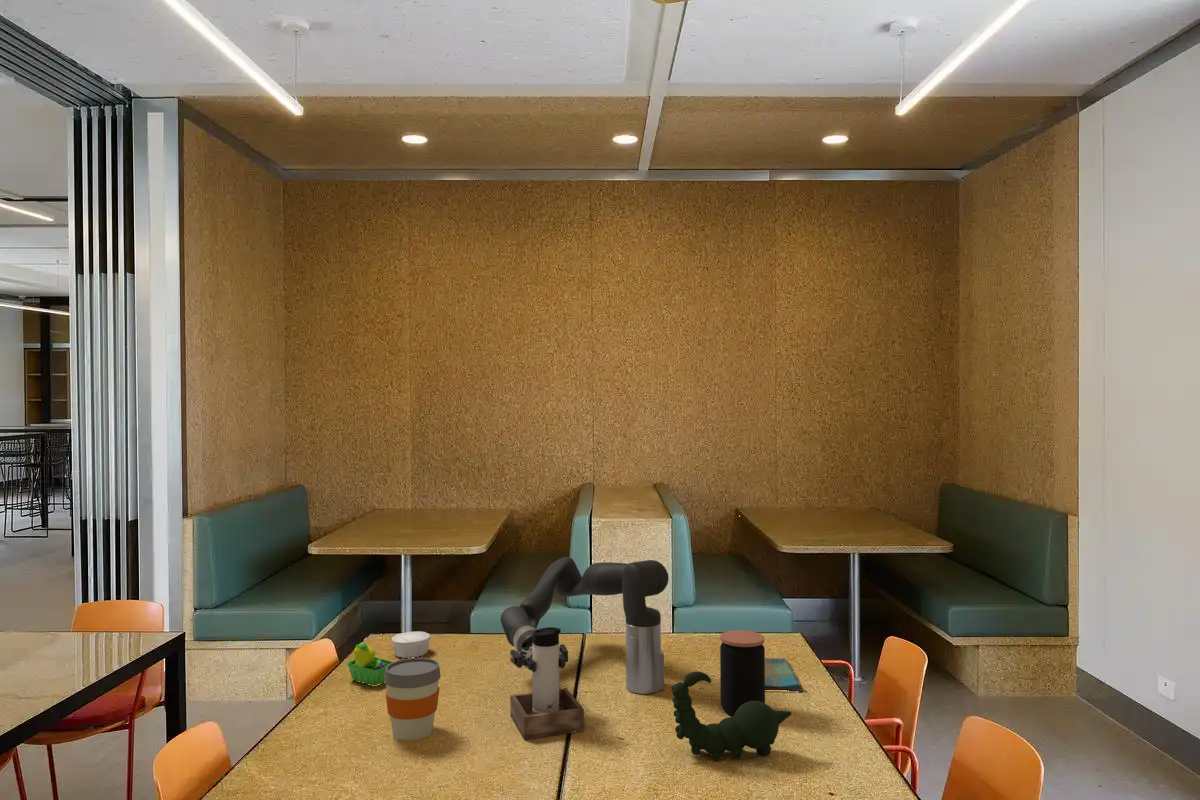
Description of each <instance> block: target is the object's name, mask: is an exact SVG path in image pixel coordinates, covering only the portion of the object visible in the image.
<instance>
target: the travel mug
mask: <svg viewBox="0 0 1200 800" xmlns="http://www.w3.org/2000/svg"><path fill="white" fill-rule="evenodd" d="M537 629H538V628H537ZM561 632H562V631H561V628H558V627H554V626H553V627H552V626H551V627H543V628H539V629H538V630H536V631H535V632H534V633H533V657H532V658H533V660H534V661H535V663H536V672H532V671H531V672H532V673H531V674H532V681H531V682H532V689H531V690H532V691H531V693H532V714H540V713H548V712H555V711H559V689H560V667H559V646H560V640H559V639H560V633H561Z"/></svg>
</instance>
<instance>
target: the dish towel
mask: <svg viewBox="0 0 1200 800" xmlns="http://www.w3.org/2000/svg"><path fill="white" fill-rule="evenodd" d="M802 688H803V685H802V684H801V683H800V682H799V680H798V678H797V675H796V674H795V672H794V671H793V669H792V667H791V666H790V664H789V662H788V661H787V659H786V658H785V657H781V658H769V657H767V658H766V657H765V690H787V691H788V690H789V691H800V692H801V691H803V690H802Z"/></svg>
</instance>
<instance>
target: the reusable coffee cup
mask: <svg viewBox="0 0 1200 800" xmlns="http://www.w3.org/2000/svg"><path fill="white" fill-rule="evenodd" d="M392 662H393V663H391V664H389V665H387V667H386V669H385V678H384V682H385V683H384V684H385V685H386V686H385V687H386V692H385V700H386V709H387V714H388V716H389V717H390V724H391V731H392V736H393V738H395V739H396V738H397V740H400V741H416V740H422V739H424V738H426V737H428V736H430V735H431V734H432V733H433V732H434V725H435V724H434V723H435V715H436V711H437V710H438V706H439V705H438V703H439V696H440V686H439V682H440V681H439V680H440V679H441V667H440V662H439V661H437V660H436V659H432V658H427V657H417V658H409V659H404V658H402V659H399V660H396V661H392Z"/></svg>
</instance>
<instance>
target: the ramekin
mask: <svg viewBox="0 0 1200 800" xmlns="http://www.w3.org/2000/svg"><path fill="white" fill-rule="evenodd" d="M430 640H431V634H430V633H428V632H426V631H406V632H401V633H398V634H395V635H394V636H392V638H391V643H392V646H393V651H394V655H395V656H396V657H397V656H399V657H403V658H402V659H404V658H412V657H417V658H420V657H419V656H421V657H423V656H425V655H426V654H427V653H428V650H429V646H430ZM424 654H425V655H424ZM422 655H423V656H422ZM399 657H398V658H399Z"/></svg>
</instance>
